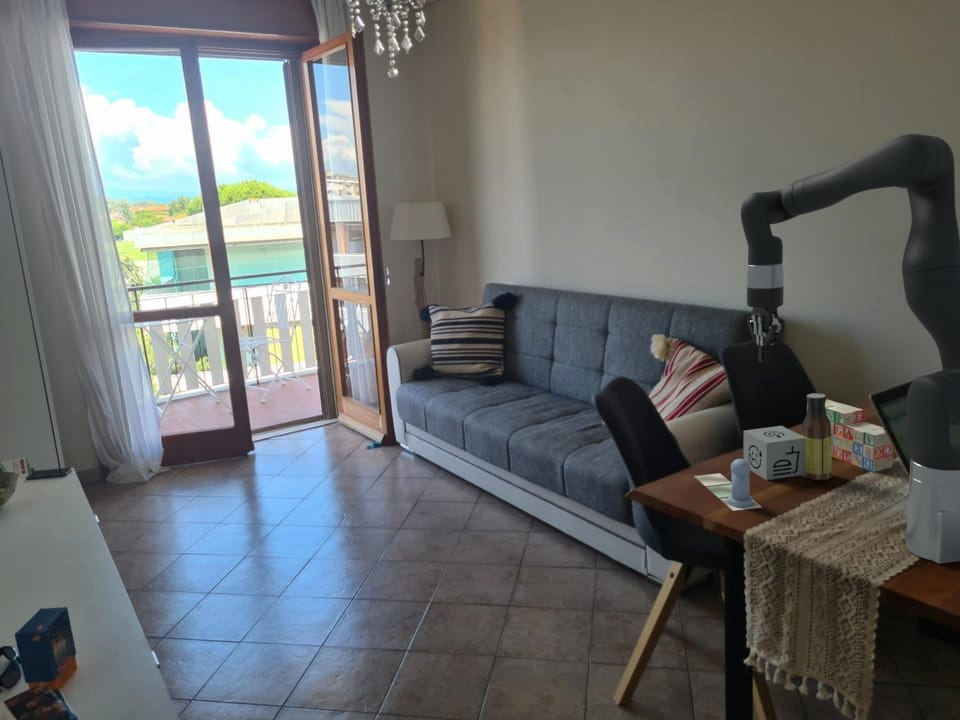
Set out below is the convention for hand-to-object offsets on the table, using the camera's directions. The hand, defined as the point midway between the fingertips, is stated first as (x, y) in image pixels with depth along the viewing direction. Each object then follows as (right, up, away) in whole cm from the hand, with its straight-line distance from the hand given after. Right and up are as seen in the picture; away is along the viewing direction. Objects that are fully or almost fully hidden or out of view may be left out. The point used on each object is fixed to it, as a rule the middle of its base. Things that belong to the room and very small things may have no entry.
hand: (764, 361), depth 160 cm
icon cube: (+7, -27, +11) cm, 30 cm away
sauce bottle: (+15, -27, +7) cm, 32 cm away
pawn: (-8, -31, -6) cm, 32 cm away
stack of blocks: (+28, -24, +18) cm, 41 cm away
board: (-8, -30, +1) cm, 31 cm away
